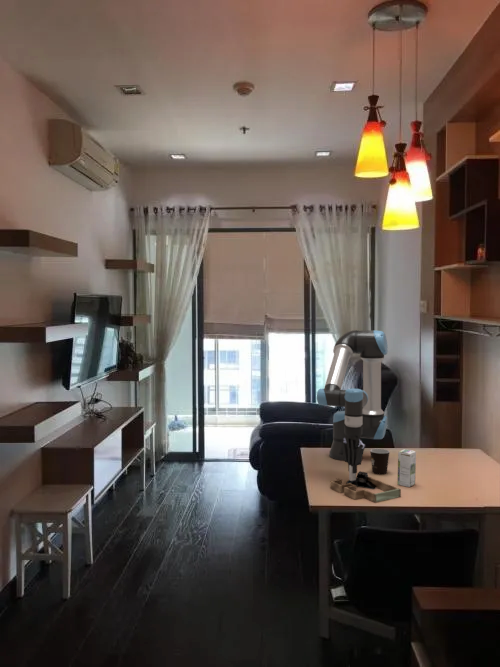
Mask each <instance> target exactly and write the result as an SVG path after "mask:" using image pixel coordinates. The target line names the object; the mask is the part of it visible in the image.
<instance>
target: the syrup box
mask: <svg viewBox="0 0 500 667" xmlns="http://www.w3.org/2000/svg"><path fill="white" fill-rule="evenodd" d="M416 465H417V451H415V450H412V449H405V448H404V449H402V450H400V451H398V453H397V481H396V482H397V485H398V486H402V487H407V488H411V487H412V486H414V485H415V484H416V473H417V472H416V470H417V469H416V468H417V466H416Z"/></svg>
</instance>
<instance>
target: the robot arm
mask: <svg viewBox="0 0 500 667" xmlns="http://www.w3.org/2000/svg"><path fill="white" fill-rule="evenodd" d="M387 340H388V339H387V336H386V333H385V332H384V331H383V330H375V329H374V330H372V329H370V330H368V329H367V330H357V329H354V330H350V331H347V332H345V333H344V334H343V335H341V336H340V337H339V339H337V341H336V342H335V343H334V346H333V349H332V351H333V352H332V353H333V358H332V361H331V364H330V367H329V370H328V375H327V378H326V381H325V384H324V387H323V388H319V389H318V390H317V392H316V402H317V404H318V405H319V406H325V407H341V408H342V407H343V408H344V410H340V411H338V412H334V414H333V418H332V419H333V420H332V439H333V440H332V444H331V447H330V450H329V457H330V458H331V459H335V460H339V461H344V462H345V463H347V468H348V470H347V471H348V480H350V481H354V480H356V477H357V474H358V466H360V465H362V461H363V456H364V453H365V449H366V447H367V445H366V443H363V440H362V439H371V440H382V439H383V438H385V435H386V432H387V431H386V430H387V425H388V416H386V415H385V411H383V409H382V361H383V360H384V359H385V355H387V354H388V352H389V351H388V349H389V348H388V341H387ZM354 354H356V355H357V354H360V355H359V357H360V359H361V360H362V361H363V362H362V366H363V367H362V369H363V370H362V372H363V373H362V378H363V381H362V389H360V388H347V389H342V387H343V384H344V379H345V376H346V372H347V369H348V364H349V361H350V358H352V356H353V355H354Z"/></svg>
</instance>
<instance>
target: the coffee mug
mask: <svg viewBox="0 0 500 667" xmlns="http://www.w3.org/2000/svg"><path fill="white" fill-rule="evenodd" d="M369 452H370V460H371V471H372V474H375V475H387V474H388V466H389V459H390V450H388V449H385V448H372V449H370V451H369Z"/></svg>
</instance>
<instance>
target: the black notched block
mask: <svg viewBox="0 0 500 667" xmlns="http://www.w3.org/2000/svg"><path fill="white" fill-rule="evenodd" d="M368 477H369V475H368V472H366V471H361V470H360V471H358V472H357V473H356V480H354V481H350V480H349V479H348V480H347V481H346V482H345V484H348V483H351V484H353V485H355V486H356V487H360V488H364V489H369V490H371V489H372V490H375V489H377V488H376V485H374V484H373V483H372V482H370V481H368ZM360 478H361V479H360Z"/></svg>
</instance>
